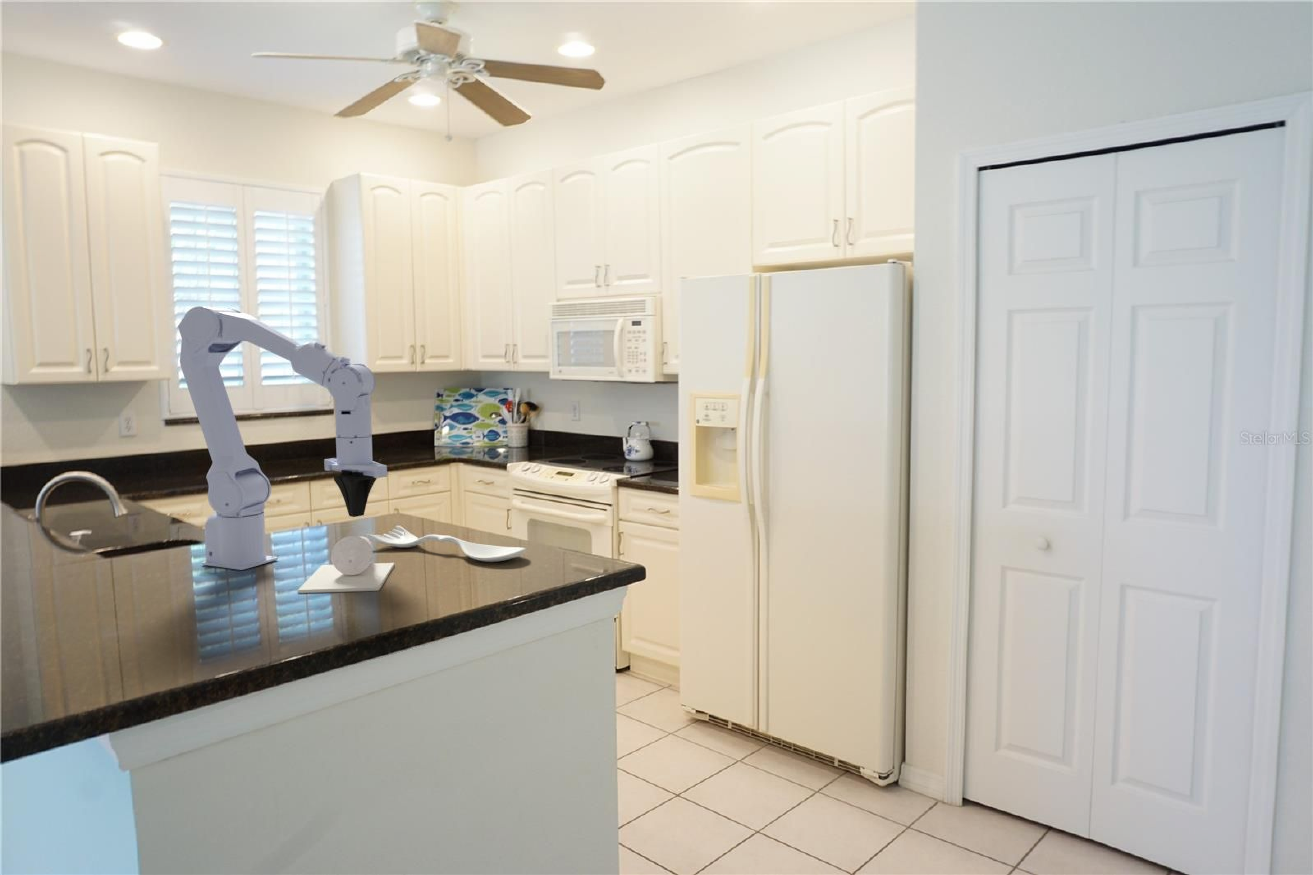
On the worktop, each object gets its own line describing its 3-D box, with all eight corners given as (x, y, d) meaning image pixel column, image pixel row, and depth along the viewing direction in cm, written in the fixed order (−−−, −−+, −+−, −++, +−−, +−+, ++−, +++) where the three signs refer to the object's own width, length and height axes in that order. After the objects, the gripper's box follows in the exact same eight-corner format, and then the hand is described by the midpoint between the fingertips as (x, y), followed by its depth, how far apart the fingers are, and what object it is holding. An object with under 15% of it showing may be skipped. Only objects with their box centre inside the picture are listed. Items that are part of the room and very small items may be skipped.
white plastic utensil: (397, 540, 168) (397, 523, 168) (535, 559, 154) (535, 540, 154) (364, 550, 160) (363, 532, 160) (506, 570, 146) (505, 551, 146)
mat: (321, 567, 146) (321, 565, 146) (394, 565, 148) (394, 562, 148) (297, 593, 132) (297, 590, 132) (378, 590, 133) (378, 587, 133)
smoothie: (375, 568, 149) (362, 584, 135) (337, 561, 148) (320, 576, 134) (383, 532, 149) (372, 544, 135) (346, 525, 148) (330, 536, 134)
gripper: (307, 435, 146) (310, 514, 147) (360, 441, 137) (362, 524, 139) (343, 432, 151) (346, 508, 153) (396, 437, 143) (398, 517, 145)
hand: (356, 515), depth 146 cm, fingers closed
